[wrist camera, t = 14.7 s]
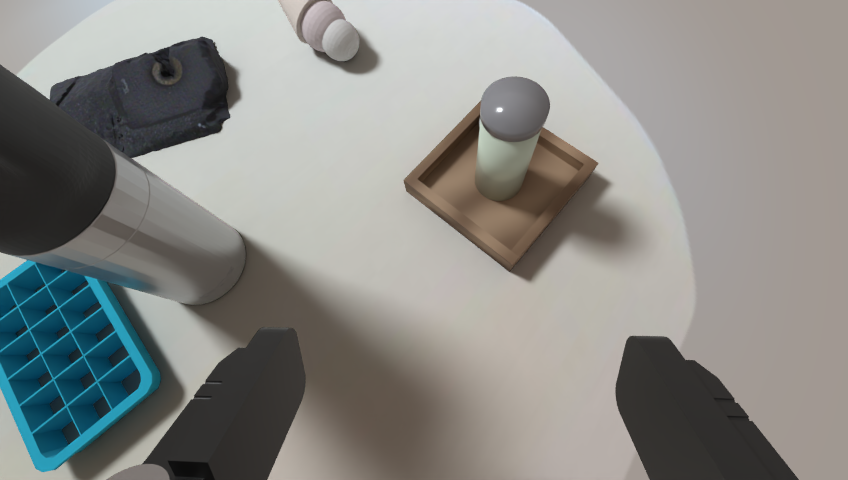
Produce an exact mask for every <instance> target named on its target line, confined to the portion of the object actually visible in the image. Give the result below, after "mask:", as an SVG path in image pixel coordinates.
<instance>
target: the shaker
mask: <svg viewBox="0 0 848 480" xmlns="http://www.w3.org/2000/svg"><path fill="white" fill-rule="evenodd" d="M549 109H550V102H549V98H548V95H547V93H546V92H545V90H544V89H543V88H542V87H541V86H540V85H539V84H537V83H536V82H534V81H532V80H530V79H527V78H523V77H506V78H502V79H500V80H497V81H496V82H494V83H492V84H491V85H490V86H489V87H488V88H487V89H486V90H485V92H484V94H483V96H482V99H481V108H480V119H481V120H480V130H479V140H478V150H477V160H476V170H475V185H476V187H477V189H478V191H479V192H480V193H481V194H482V195H483V196H484V197H486V198H488V199H490V200H494V201H505V200H508V199H511V198H512V197H514V196H515V195H516V194H517V193H518V192H519V191H520V189H521V187H522V184H523V181H524V178H525V175H526V172H527V169H528V167H529V164H530V161H531V158H532V155H533V152H534V149H535V146H536V144H537V141H538V138H539V135H540V132H541V129H542V128H543V126H544V124H545V122H546V119H547V116H548V113H549Z"/></svg>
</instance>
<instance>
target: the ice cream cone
mask: <svg viewBox="0 0 848 480" xmlns="http://www.w3.org/2000/svg"><path fill="white" fill-rule="evenodd" d="M278 1H279V3H280V5H281V7H282V9H283V11H284V12H285V14H286V16H287V18H288V20H289V22H290V23H291V25H292V27H293V29H294V31H295V33H296V34H297V36H298V38H299V39H300V40H301V41H302V42H304V43H308V44H309V45H310V46H311V47H312V48H314V49H315V50H318V51H320V52H326V54H327V55H328V56H330V57H331V58H332V59H335V60H337V61H347V60H349V59H351V58H353V57H354V56H355V54H356V53H357V51H358V49H359V35H358V33H357V30H356V29H355V27H354V26H353V25H352V24H351V23H349V22H348V21H346V19H345V17H344V15H343V13H342V12H341V10H340V9H339V8H338V7H337V6H335V5H334V4H333V3H332V1H331V0H278Z"/></svg>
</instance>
